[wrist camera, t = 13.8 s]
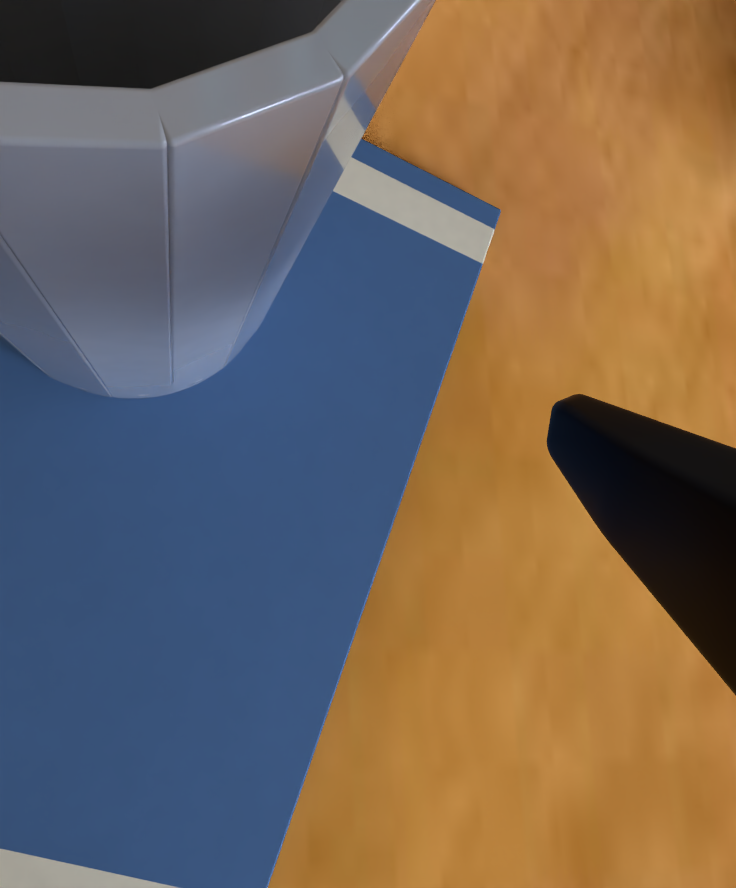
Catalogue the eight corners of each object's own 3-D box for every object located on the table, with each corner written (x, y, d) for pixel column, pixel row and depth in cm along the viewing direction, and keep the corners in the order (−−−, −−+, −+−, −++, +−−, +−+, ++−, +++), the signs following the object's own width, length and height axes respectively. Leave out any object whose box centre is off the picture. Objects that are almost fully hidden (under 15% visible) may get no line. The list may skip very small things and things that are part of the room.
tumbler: (255, 128, 18) (446, -699, 5) (282, 388, 18) (543, 155, 5) (-38, 118, 16) (-786, -1181, 4) (-12, 409, 16) (-711, 123, 3)
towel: (493, 217, 20) (502, 209, 20) (234, 964, 17) (235, 981, 17) (3, -31, 17) (-4, -50, 16) (-428, 835, 14) (-455, 850, 13)
